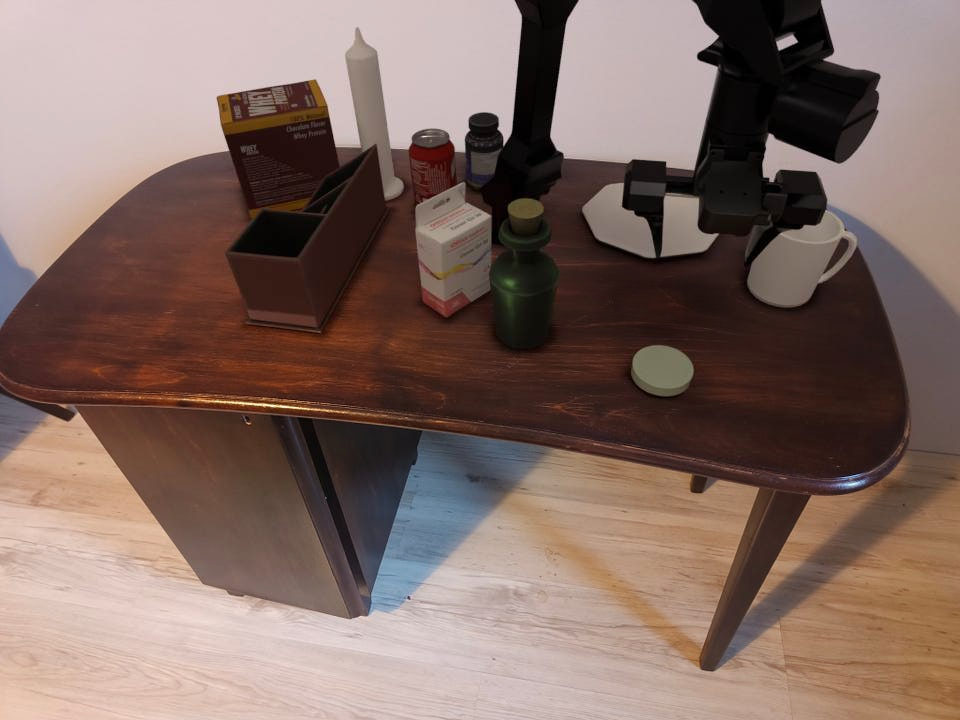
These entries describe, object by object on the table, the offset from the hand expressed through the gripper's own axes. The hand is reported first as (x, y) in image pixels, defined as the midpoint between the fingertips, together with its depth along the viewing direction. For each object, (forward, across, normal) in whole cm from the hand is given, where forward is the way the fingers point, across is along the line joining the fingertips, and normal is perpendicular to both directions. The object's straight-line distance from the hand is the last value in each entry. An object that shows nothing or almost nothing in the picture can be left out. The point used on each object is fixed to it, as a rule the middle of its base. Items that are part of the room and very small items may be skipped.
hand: (701, 260), depth 69 cm
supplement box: (+12, -61, +25) cm, 67 cm away
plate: (+12, -4, +25) cm, 28 cm away
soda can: (+12, -37, +24) cm, 46 cm away
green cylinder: (+12, -2, -7) cm, 14 cm away
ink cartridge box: (+12, -29, +4) cm, 32 cm away
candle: (+12, -47, +28) cm, 56 cm away
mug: (+12, +14, +12) cm, 22 cm away
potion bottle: (+12, -19, -2) cm, 23 cm away
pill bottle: (+12, -31, +33) cm, 47 cm away
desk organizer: (+12, -49, +8) cm, 51 cm away
